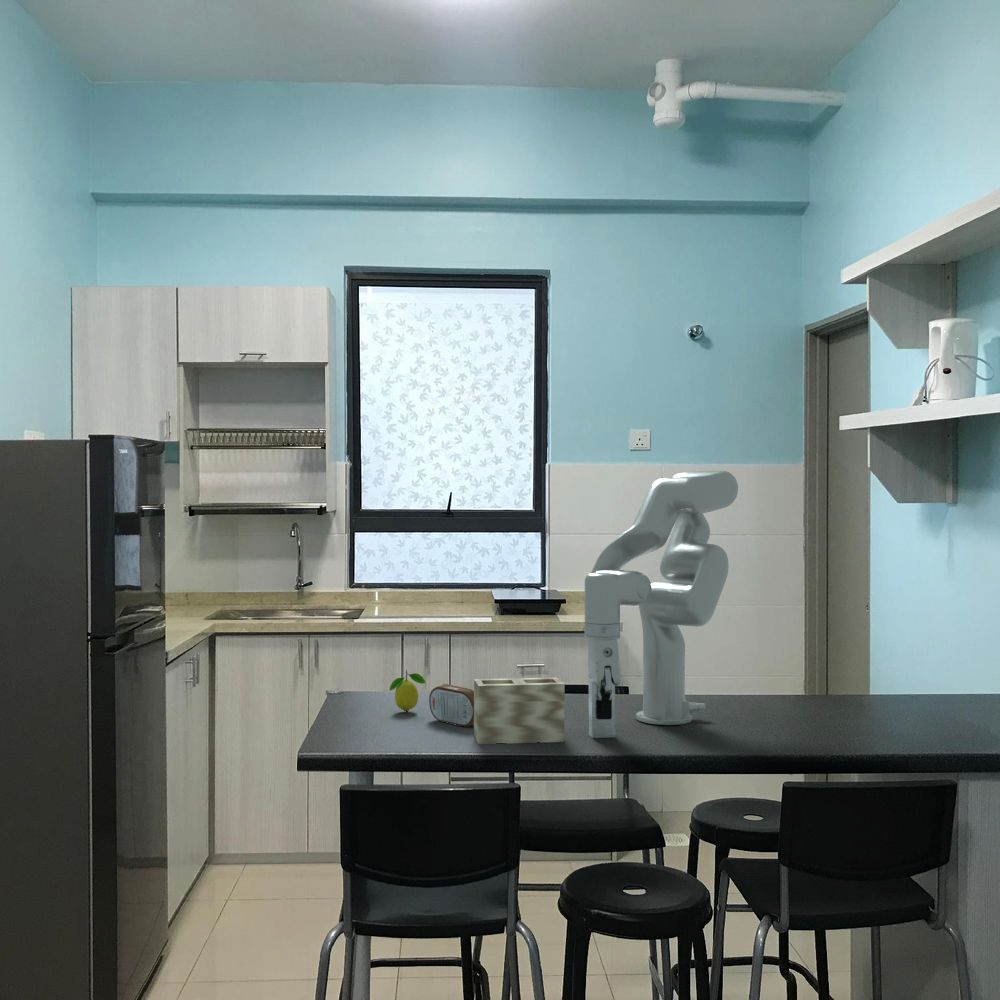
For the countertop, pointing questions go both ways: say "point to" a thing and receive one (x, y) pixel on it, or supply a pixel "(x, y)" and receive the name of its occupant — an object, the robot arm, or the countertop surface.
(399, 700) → the lemon
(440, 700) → the tin
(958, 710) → the countertop surface
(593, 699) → the grey slab
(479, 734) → the two-slot cinder block
